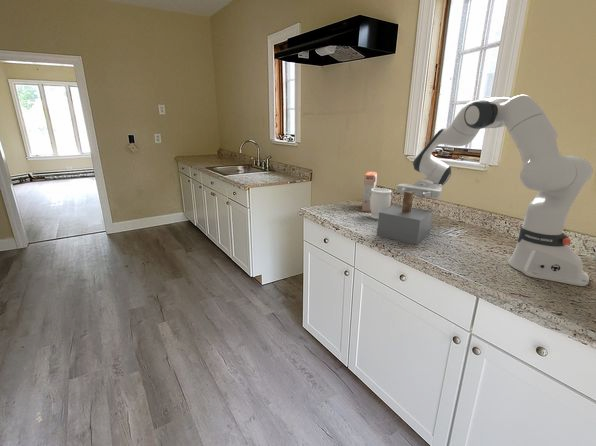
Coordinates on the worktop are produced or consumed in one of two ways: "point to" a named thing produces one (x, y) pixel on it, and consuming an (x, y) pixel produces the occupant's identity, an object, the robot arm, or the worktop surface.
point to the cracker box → (368, 189)
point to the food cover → (405, 222)
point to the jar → (379, 201)
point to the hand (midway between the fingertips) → (413, 193)
